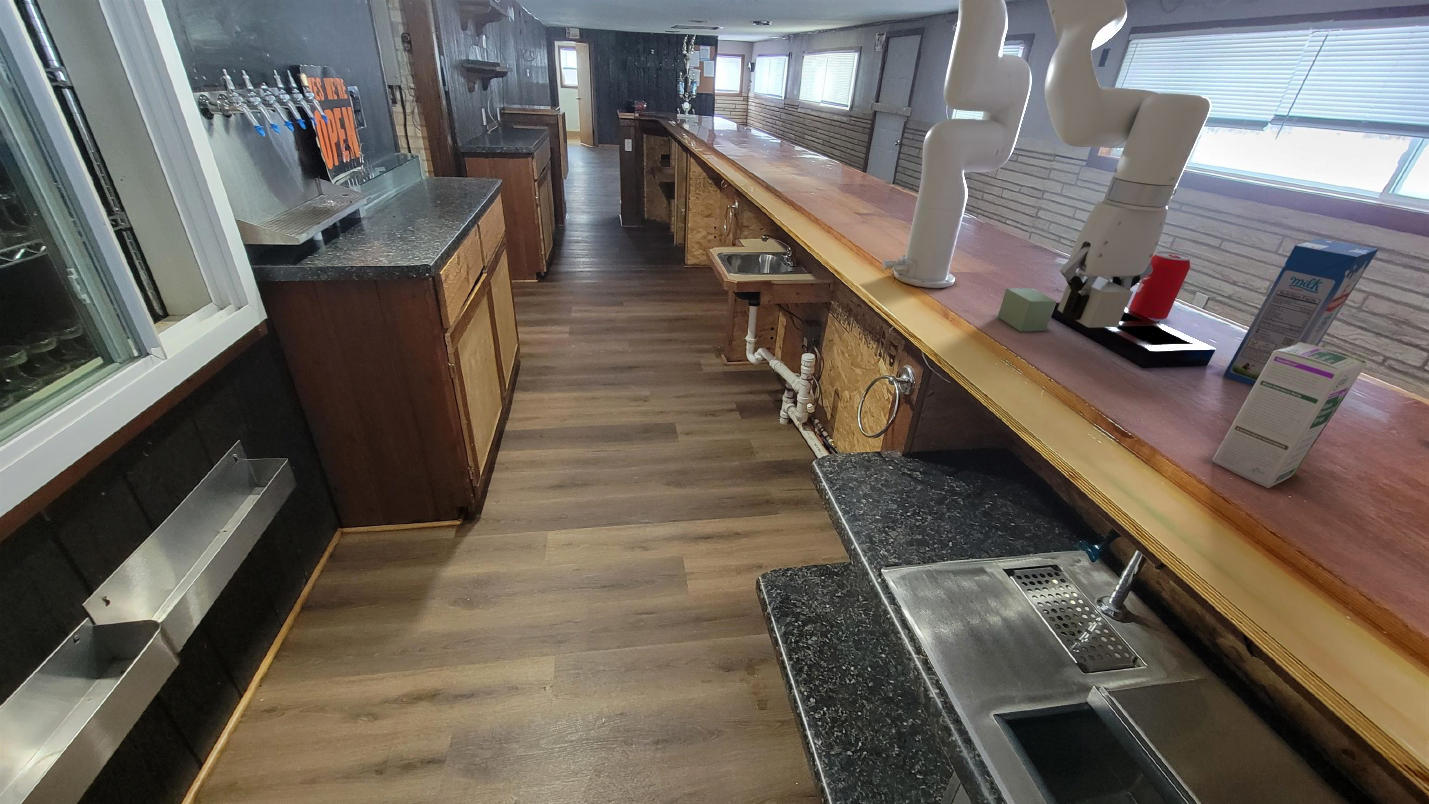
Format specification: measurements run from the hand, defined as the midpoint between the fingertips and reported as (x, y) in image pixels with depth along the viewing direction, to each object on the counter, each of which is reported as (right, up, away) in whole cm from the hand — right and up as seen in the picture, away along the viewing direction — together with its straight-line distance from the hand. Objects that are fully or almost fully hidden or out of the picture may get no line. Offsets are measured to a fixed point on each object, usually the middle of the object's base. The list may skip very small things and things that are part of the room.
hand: (1087, 315), depth 87 cm
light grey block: (0, 0, 0) cm, 0 cm away
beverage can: (+25, +3, +21) cm, 33 cm away
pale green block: (-2, +1, +15) cm, 15 cm away
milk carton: (+26, -10, -1) cm, 28 cm away
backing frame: (+13, -3, +10) cm, 17 cm away
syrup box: (+4, -21, -23) cm, 31 cm away
